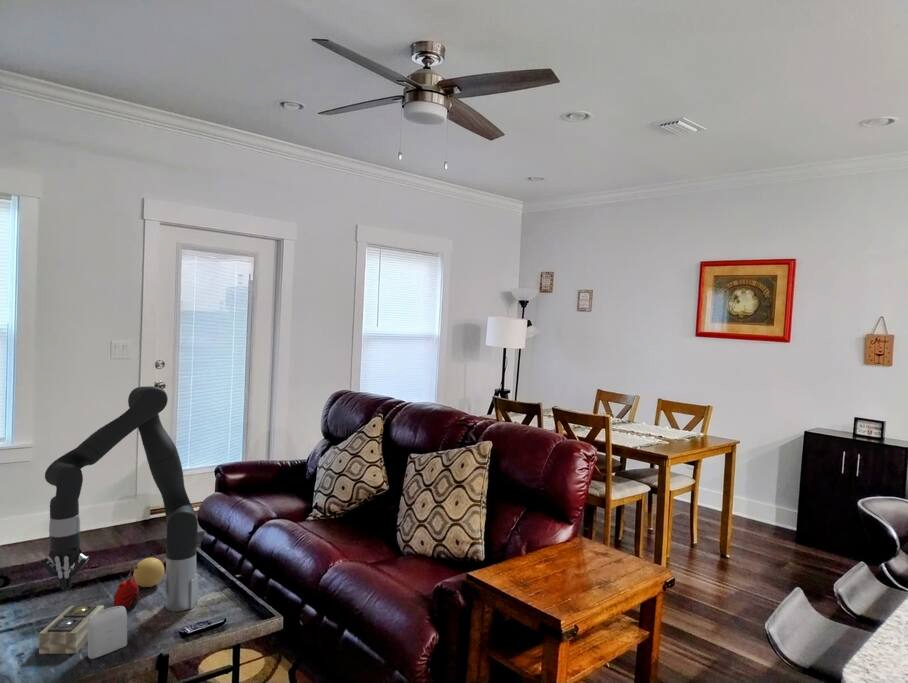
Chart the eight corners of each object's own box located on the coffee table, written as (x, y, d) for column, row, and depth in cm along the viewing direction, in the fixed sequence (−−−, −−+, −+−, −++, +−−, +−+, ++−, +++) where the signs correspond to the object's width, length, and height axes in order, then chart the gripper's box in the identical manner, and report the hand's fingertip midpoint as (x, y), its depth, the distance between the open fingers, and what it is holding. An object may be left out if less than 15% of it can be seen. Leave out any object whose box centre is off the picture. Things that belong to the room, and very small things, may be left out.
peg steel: (75, 639, 178) (75, 619, 178) (68, 646, 174) (68, 626, 174) (62, 639, 178) (62, 619, 177) (55, 646, 174) (55, 626, 174)
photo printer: (90, 661, 169) (90, 618, 168) (85, 655, 172) (85, 613, 171) (129, 646, 177) (129, 605, 176) (123, 640, 180) (123, 600, 179)
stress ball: (163, 591, 213) (173, 564, 220) (149, 578, 207) (160, 551, 214) (137, 593, 214) (148, 566, 222) (122, 580, 208) (134, 553, 215)
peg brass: (89, 625, 186) (89, 606, 186) (83, 631, 182) (83, 612, 182) (77, 625, 186) (77, 606, 185) (70, 631, 182) (70, 612, 182)
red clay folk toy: (130, 599, 204) (131, 556, 204) (144, 604, 201) (144, 561, 200) (109, 609, 198) (109, 564, 197) (122, 614, 194) (122, 569, 194)
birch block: (103, 624, 188) (103, 603, 188) (75, 653, 172) (75, 631, 172) (70, 624, 188) (70, 603, 187) (39, 653, 172) (39, 631, 171)
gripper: (95, 525, 178) (96, 582, 179) (48, 526, 177) (49, 583, 178) (82, 535, 171) (83, 594, 172) (32, 536, 170) (34, 596, 171)
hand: (66, 589), depth 175 cm, fingers closed
